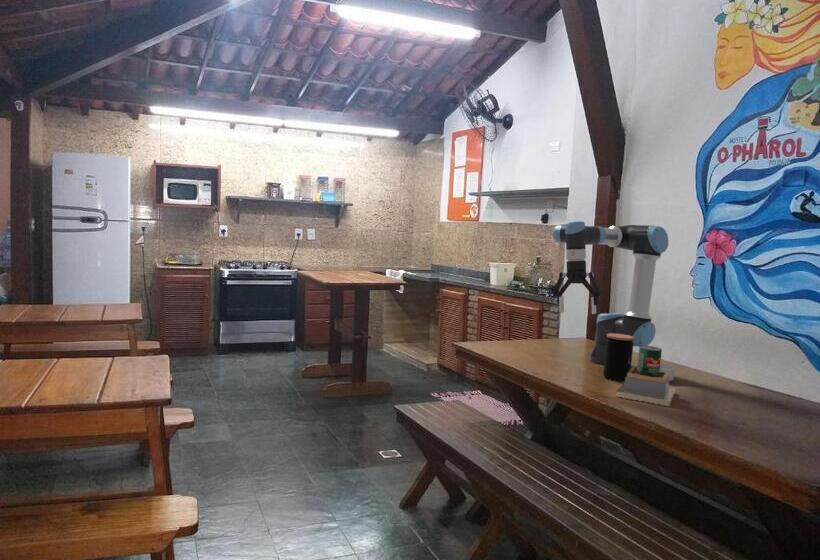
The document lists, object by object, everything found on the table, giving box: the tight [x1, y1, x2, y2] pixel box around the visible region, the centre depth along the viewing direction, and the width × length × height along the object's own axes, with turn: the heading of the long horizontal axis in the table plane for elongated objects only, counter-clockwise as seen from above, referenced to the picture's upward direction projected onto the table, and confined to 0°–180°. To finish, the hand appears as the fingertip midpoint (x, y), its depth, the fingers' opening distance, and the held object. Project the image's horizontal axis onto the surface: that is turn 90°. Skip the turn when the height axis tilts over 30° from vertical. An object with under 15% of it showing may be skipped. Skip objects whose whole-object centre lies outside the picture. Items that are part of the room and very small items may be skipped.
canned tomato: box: [636, 345, 663, 377], centre depth 224 cm, size 8×8×11 cm
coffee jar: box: [602, 333, 634, 382], centre depth 249 cm, size 11×11×18 cm
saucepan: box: [631, 363, 676, 382], centre depth 253 cm, size 12×20×6 cm, turn 101°
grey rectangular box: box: [615, 367, 676, 407], centre depth 225 cm, size 22×18×8 cm
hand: (577, 313), depth 242 cm, fingers open, 13 cm apart
